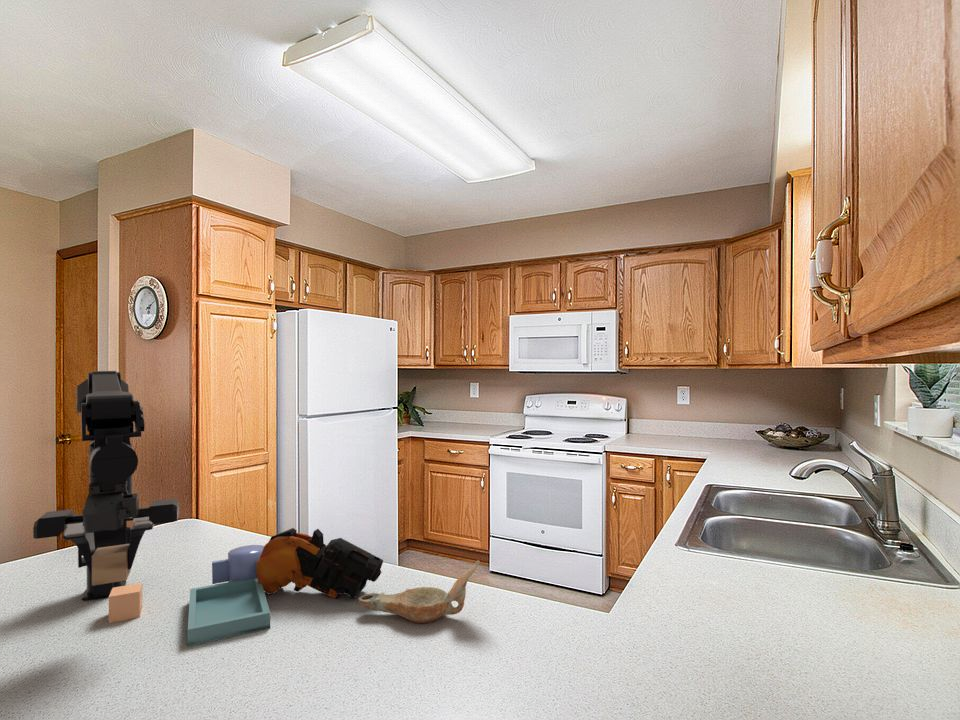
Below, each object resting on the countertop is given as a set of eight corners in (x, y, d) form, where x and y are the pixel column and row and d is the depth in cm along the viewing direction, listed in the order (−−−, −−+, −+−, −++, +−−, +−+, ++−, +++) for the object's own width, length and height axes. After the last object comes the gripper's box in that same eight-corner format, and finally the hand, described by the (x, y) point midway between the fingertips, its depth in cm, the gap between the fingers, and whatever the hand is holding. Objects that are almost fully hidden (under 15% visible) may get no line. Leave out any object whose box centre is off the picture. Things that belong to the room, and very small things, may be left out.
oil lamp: (476, 632, 88) (475, 569, 88) (349, 625, 91) (348, 564, 91) (484, 609, 96) (483, 551, 96) (368, 603, 99) (367, 547, 100)
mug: (212, 586, 108) (211, 550, 109) (265, 576, 113) (264, 542, 113) (212, 599, 102) (212, 561, 102) (268, 588, 107) (268, 552, 107)
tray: (190, 602, 101) (190, 588, 101) (260, 589, 106) (260, 576, 106) (187, 646, 85) (187, 629, 85) (270, 628, 90) (270, 612, 90)
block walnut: (97, 575, 88) (97, 548, 88) (130, 570, 90) (130, 543, 90) (91, 585, 84) (91, 556, 84) (126, 580, 86) (126, 551, 86)
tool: (347, 644, 99) (376, 568, 97) (240, 589, 102) (267, 515, 101) (364, 623, 107) (391, 552, 105) (265, 572, 110) (290, 504, 109)
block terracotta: (112, 613, 97) (112, 587, 97) (142, 607, 99) (142, 582, 100) (108, 623, 93) (108, 596, 93) (139, 617, 95) (139, 591, 96)
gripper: (20, 489, 76) (21, 602, 76) (174, 475, 84) (175, 577, 84) (43, 476, 86) (44, 575, 86) (178, 464, 94) (179, 555, 94)
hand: (111, 571), depth 87 cm, fingers closed on block walnut, 4 cm apart
